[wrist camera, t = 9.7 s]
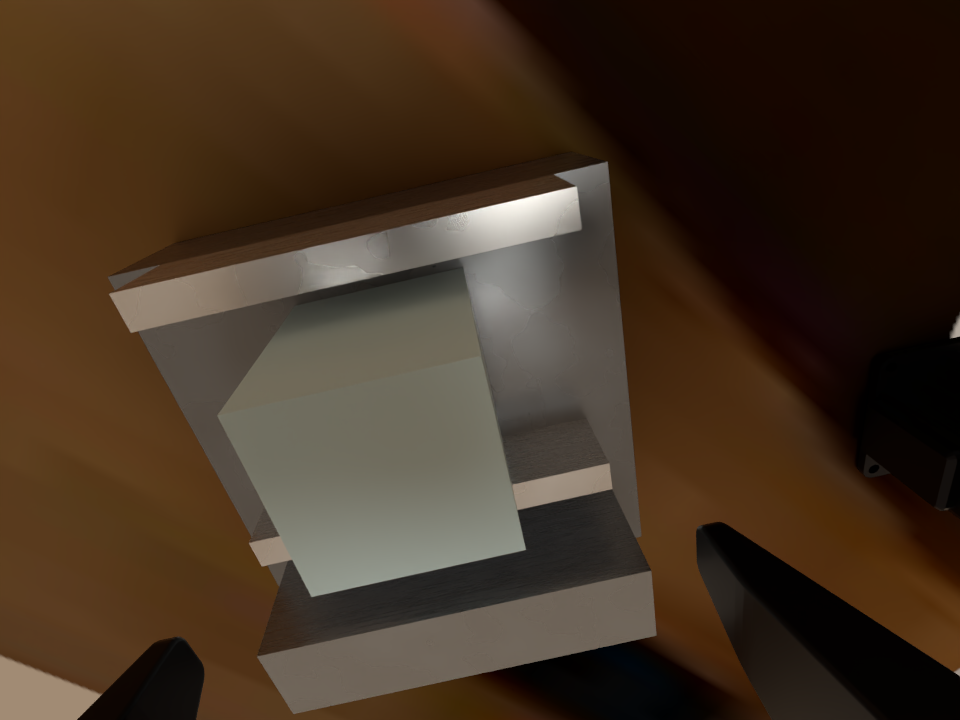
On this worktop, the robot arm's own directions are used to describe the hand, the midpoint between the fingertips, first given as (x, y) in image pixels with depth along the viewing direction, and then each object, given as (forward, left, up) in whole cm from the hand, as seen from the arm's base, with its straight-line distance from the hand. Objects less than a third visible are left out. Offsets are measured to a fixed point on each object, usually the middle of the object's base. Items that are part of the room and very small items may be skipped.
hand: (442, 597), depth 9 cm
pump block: (+1, -1, -8) cm, 8 cm away
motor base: (+1, +2, -12) cm, 12 cm away
